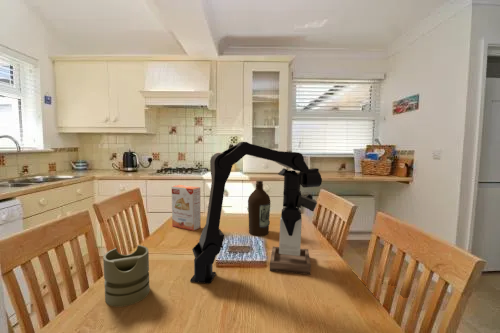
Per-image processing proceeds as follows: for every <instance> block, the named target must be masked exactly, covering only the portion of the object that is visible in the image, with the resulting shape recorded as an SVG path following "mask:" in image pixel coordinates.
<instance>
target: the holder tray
mask: <svg viewBox="0 0 500 333" xmlns="http://www.w3.org/2000/svg"><path fill="white" fill-rule="evenodd" d="M310 257H311V256H310V252H309V248H308V249H307V248H300V256H295V255H286V254H279V246H272V249H271V253H270V259H269V272H277V273H286V274H298V275H300V274H301V275H311V274H312V272H311V270H312V269H311V268H312V264H311V259H310Z"/></svg>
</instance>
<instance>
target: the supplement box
mask: <svg viewBox="0 0 500 333" xmlns="http://www.w3.org/2000/svg"><path fill="white" fill-rule="evenodd" d="M302 220H303V218H302V215H301V219H300V220H298V221H297V222H296V223H295V226H294V230H293V234H292V236H289V235H288V232H287V229H286V227H285V224H284V222H283V219H282V218H281V217H280V221H279V245H278V247H279V254H286V255H295V256H300V249H301V246H302V245H301V243H302V242H301V241H302V225H303V224H302Z"/></svg>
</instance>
